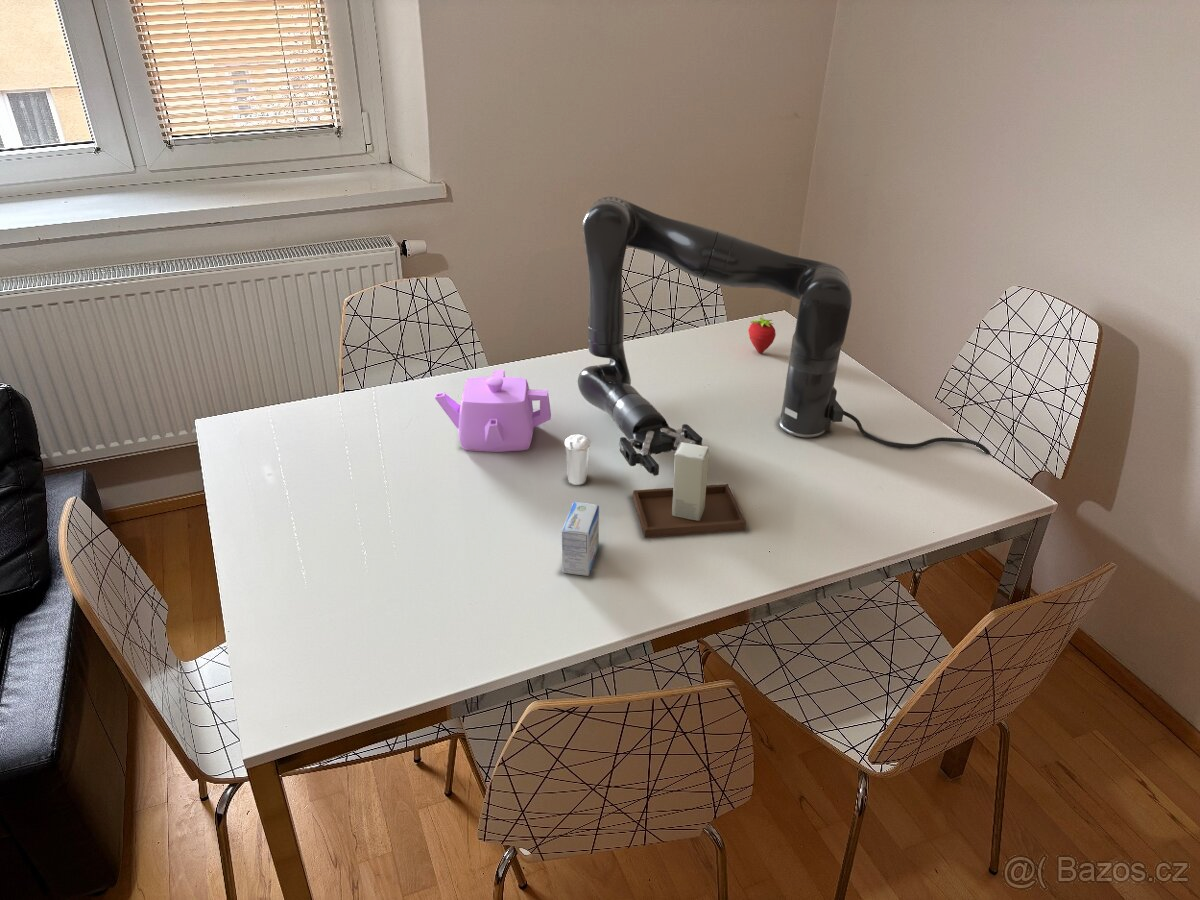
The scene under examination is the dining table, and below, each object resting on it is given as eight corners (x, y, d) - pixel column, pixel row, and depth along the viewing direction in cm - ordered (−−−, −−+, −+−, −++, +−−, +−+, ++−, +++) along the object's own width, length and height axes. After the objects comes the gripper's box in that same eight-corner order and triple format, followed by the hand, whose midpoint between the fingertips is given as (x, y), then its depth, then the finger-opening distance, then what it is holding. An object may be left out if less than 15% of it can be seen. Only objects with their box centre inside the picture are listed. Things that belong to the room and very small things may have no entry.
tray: (727, 491, 158) (728, 483, 157) (744, 530, 149) (746, 522, 148) (632, 498, 156) (632, 490, 155) (644, 537, 147) (644, 529, 146)
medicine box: (588, 577, 138) (589, 534, 133) (561, 573, 139) (561, 530, 134) (599, 546, 144) (600, 504, 140) (572, 542, 145) (572, 500, 140)
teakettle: (558, 435, 173) (557, 379, 167) (493, 469, 163) (490, 412, 156) (500, 405, 183) (497, 351, 176) (435, 436, 172) (430, 380, 166)
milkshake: (558, 486, 159) (558, 439, 153) (570, 470, 163) (570, 424, 157) (581, 492, 157) (582, 445, 152) (593, 476, 161) (594, 430, 156)
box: (705, 508, 153) (711, 446, 146) (699, 522, 150) (705, 460, 143) (676, 502, 155) (681, 440, 148) (669, 516, 151) (674, 453, 144)
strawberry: (754, 361, 202) (759, 322, 196) (741, 347, 208) (745, 308, 202) (777, 359, 203) (783, 319, 198) (764, 345, 209) (769, 306, 204)
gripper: (604, 410, 159) (643, 456, 147) (674, 396, 164) (717, 439, 152) (603, 445, 164) (641, 492, 151) (672, 430, 168) (713, 475, 156)
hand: (679, 466), depth 151 cm, fingers open, 8 cm apart
